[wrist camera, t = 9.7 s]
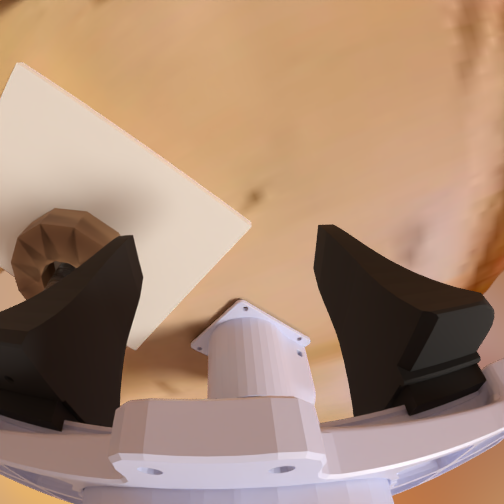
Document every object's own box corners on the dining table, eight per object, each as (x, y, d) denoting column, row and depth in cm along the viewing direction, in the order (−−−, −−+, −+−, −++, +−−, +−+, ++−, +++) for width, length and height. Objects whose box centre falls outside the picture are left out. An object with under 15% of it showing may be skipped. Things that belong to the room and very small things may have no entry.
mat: (250, 221, 23) (251, 226, 22) (136, 344, 30) (135, 350, 29) (22, 62, 14) (16, 62, 13) (-32, 233, 21) (-36, 237, 20)
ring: (162, 260, 23) (156, 280, 21) (107, 332, 27) (101, 351, 25) (47, 182, 19) (30, 196, 17) (16, 274, 23) (4, 290, 21)
